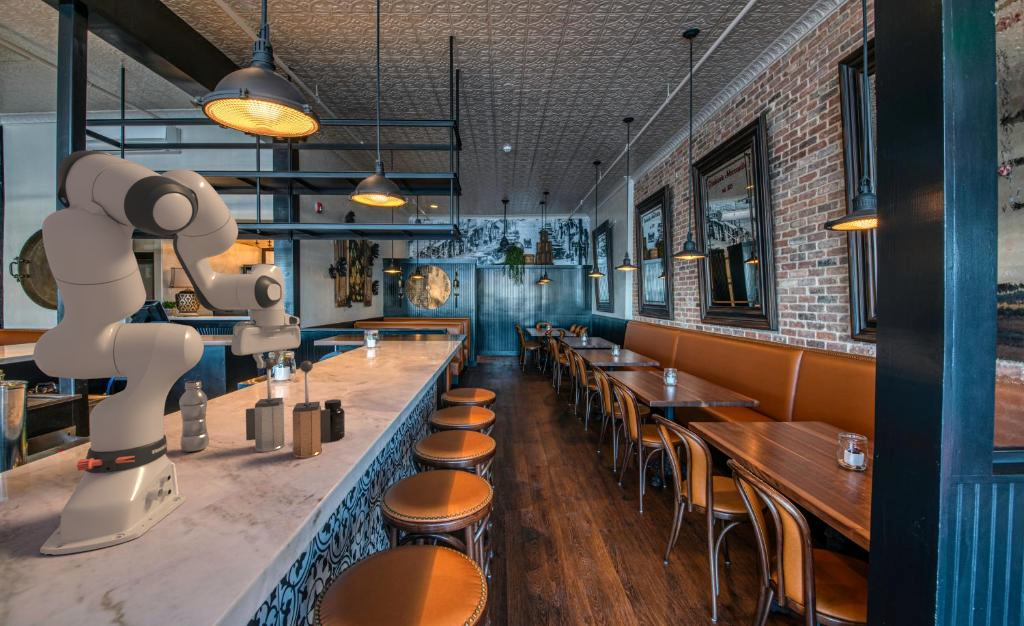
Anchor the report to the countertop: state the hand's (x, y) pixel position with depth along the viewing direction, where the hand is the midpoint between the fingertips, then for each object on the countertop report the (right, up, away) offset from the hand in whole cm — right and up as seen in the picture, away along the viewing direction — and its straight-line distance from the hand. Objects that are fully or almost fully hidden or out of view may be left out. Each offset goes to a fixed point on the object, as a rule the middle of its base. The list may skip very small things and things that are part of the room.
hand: (268, 366), depth 119 cm
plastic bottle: (-20, -24, -2) cm, 32 cm away
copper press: (+14, -24, -3) cm, 28 cm away
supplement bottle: (+15, -24, +9) cm, 30 cm away
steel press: (-1, -24, 0) cm, 24 cm away
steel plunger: (0, -12, 0) cm, 12 cm away
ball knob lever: (+13, -12, -4) cm, 19 cm away
